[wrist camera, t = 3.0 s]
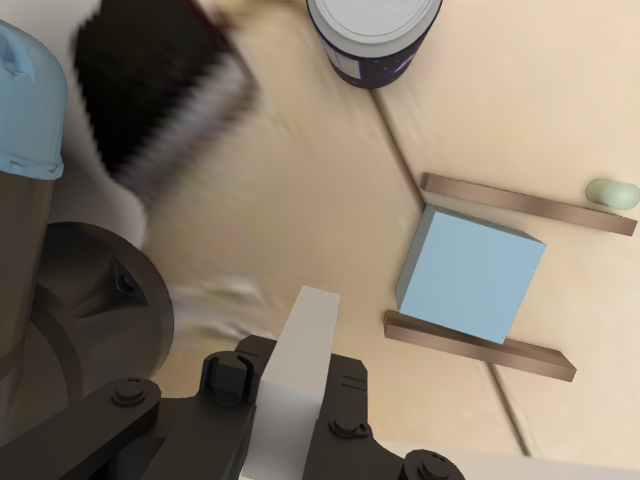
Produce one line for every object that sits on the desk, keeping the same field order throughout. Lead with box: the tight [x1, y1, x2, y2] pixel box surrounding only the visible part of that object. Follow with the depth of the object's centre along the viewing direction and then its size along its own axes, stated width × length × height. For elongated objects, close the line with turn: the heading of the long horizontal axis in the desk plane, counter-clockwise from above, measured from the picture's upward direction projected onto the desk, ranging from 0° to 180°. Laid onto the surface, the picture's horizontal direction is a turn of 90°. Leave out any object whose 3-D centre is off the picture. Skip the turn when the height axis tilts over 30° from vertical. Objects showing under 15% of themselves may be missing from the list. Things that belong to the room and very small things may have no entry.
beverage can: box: [306, 0, 443, 89], centre depth 22 cm, size 6×6×12 cm
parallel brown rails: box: [383, 172, 638, 382], centre depth 29 cm, size 13×12×2 cm
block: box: [395, 203, 546, 345], centre depth 28 cm, size 7×7×4 cm
